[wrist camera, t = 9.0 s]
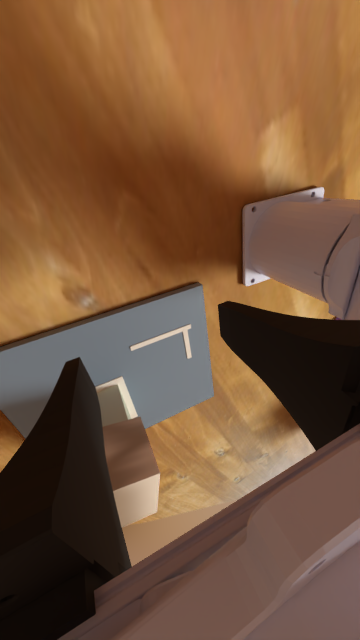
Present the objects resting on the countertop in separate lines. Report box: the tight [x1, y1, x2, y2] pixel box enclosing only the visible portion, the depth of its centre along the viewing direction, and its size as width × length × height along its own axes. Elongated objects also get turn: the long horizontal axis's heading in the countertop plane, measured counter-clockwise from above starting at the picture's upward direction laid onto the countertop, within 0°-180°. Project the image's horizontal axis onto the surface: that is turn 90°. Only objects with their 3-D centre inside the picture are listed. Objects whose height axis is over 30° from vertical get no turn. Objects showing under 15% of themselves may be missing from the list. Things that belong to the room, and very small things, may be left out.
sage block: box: [97, 384, 131, 427], centre depth 23 cm, size 5×5×5 cm
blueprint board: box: [0, 282, 214, 439], centre depth 25 cm, size 20×16×1 cm
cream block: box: [103, 417, 160, 527], centre depth 18 cm, size 5×5×5 cm
